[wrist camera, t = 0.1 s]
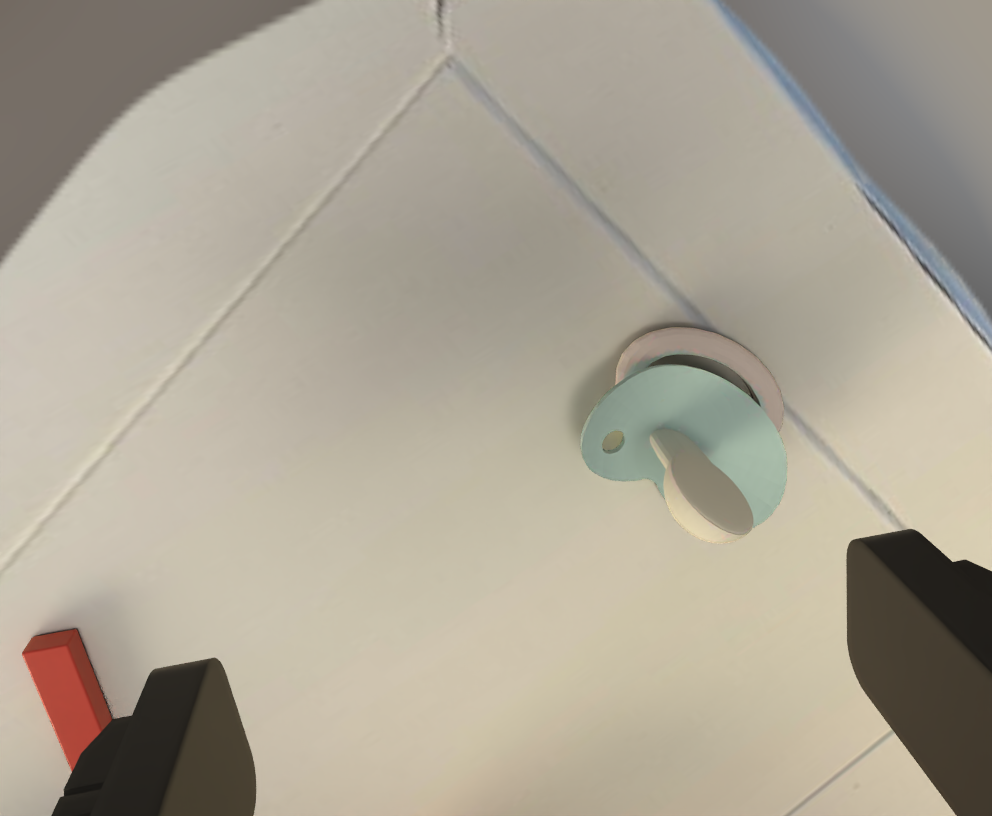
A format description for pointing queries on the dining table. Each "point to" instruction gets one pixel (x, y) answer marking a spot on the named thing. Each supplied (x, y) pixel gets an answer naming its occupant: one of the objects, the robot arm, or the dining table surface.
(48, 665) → the spoon
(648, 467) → the pacifier
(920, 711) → the robot arm
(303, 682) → the dining table surface
